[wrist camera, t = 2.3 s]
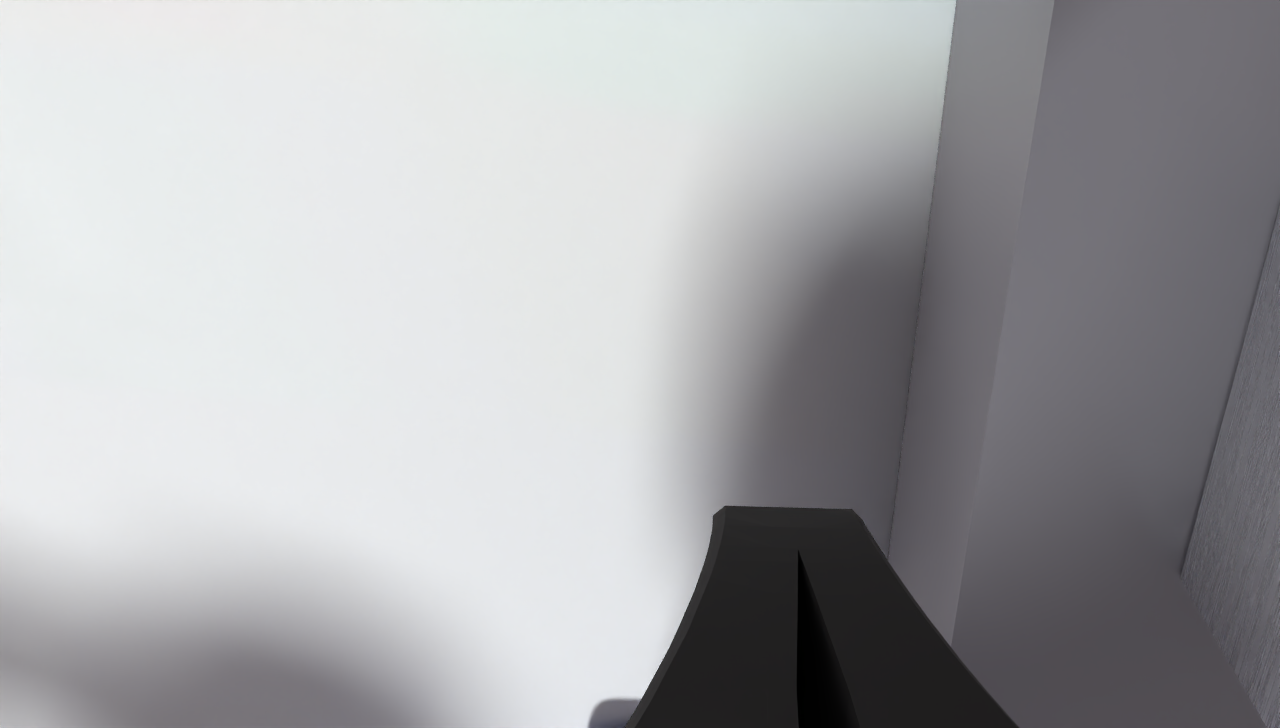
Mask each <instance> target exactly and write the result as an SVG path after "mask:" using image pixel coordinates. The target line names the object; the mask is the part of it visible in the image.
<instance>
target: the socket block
mask: <svg viewBox="0 0 1280 728" xmlns="http://www.w3.org/2000/svg"><path fill="white" fill-rule="evenodd" d="M1279 207H1280V0H956V8H955V16H954V25H953V33H952V41H951V49H950V57H949V65H948V74H947V82H946V90H945V98H944V106H943V114H942V123H941V131H940V139H939V147H938V155H937V163H936V171H935V180H934V188H933V196H932V204H931V212H930V220H929V229H928V237H927V245H926V253H925V261H924V269H923V278H922V286H921V294H920V302H919V310H918V318H917V326H916V335H915V343H914V351H913V359H912V367H911V375H910V384H909V392H908V400H907V408H906V416H905V424H904V433H903V441H902V449H901V457H900V465H899V473H898V481H897V490H896V498H895V506H894V514H893V522H892V530H891V539H890V547H889V555H888V562H889V563H890V565H891V566H892V568H893V569H894V571H895V572H896V573H897V575H898V576H899V578H900V579H901V581H902V582H903V583H904V585H905V586H906V588H907V589H908V591H909V592H910V594H911V595H912V596H913V598H914V599H915V601H916V602H917V603H918V605H919V606H920V607H921V609H922V610H923V611H924V613H925V614H926V616H927V617H928V618H929V619H930V621H931V622H932V623H933V625H934V626H935V627H936V628H937V630H938V631H939V632H940V634H941V635H942V636H943V637H944V639H945V640H946V641H947V643H948V644H949V645H950V646H951V648H952V649H953V650H954V652H955V653H956V654H957V655H958V657H959V658H960V659H961V661H962V662H963V663H964V664H965V665H966V667H967V668H968V669H969V670H970V671H971V673H972V674H973V675H974V676H975V677H976V679H977V680H978V681H979V682H980V683H981V685H982V686H983V687H984V688H985V689H986V691H987V692H988V693H989V694H990V695H991V696H992V697H993V698H994V700H995V701H996V702H997V703H998V704H999V705H1000V706H1001V707H1002V709H1003V710H1004V711H1005V712H1006V713H1007V714H1008V715H1009V717H1010V718H1011V719H1012V720H1013V721H1014V722H1015V723H1016V724H1017V726H1018V727H1019V728H1267V727H1266V725H1265V724H1264V722H1263V720H1262V718H1261V717H1260V715H1259V713H1258V711H1257V710H1256V708H1255V706H1254V705H1253V703H1252V701H1251V699H1250V698H1249V696H1248V694H1247V693H1246V691H1245V689H1244V687H1243V686H1242V684H1241V682H1240V680H1239V679H1238V677H1237V675H1236V674H1235V672H1234V670H1233V668H1232V667H1231V665H1230V663H1229V662H1228V660H1227V658H1226V656H1225V655H1224V653H1223V651H1222V650H1221V648H1220V646H1219V644H1218V643H1217V641H1216V639H1215V637H1214V636H1213V634H1212V632H1211V631H1210V629H1209V627H1208V625H1207V624H1206V622H1205V620H1204V619H1203V617H1202V615H1201V613H1200V612H1199V610H1198V608H1197V606H1196V605H1195V603H1194V601H1193V600H1192V598H1191V596H1190V594H1189V593H1188V591H1187V589H1186V588H1185V586H1184V584H1183V582H1182V581H1181V579H1180V577H1181V573H1182V569H1183V565H1184V562H1185V558H1186V554H1187V551H1188V547H1189V543H1190V539H1191V536H1192V532H1193V528H1194V524H1195V521H1196V517H1197V513H1198V509H1199V506H1200V502H1201V498H1202V494H1203V491H1204V487H1205V483H1206V480H1207V476H1208V472H1209V468H1210V465H1211V461H1212V457H1213V453H1214V450H1215V446H1216V442H1217V438H1218V435H1219V431H1220V427H1221V424H1222V420H1223V416H1224V412H1225V409H1226V405H1227V401H1228V397H1229V394H1230V390H1231V386H1232V382H1233V379H1234V375H1235V371H1236V367H1237V364H1238V360H1239V356H1240V353H1241V349H1242V345H1243V341H1244V338H1245V334H1246V330H1247V326H1248V323H1249V319H1250V315H1251V311H1252V308H1253V304H1254V300H1255V296H1256V293H1257V289H1258V285H1259V282H1260V278H1261V274H1262V270H1263V267H1264V263H1265V259H1266V255H1267V252H1268V248H1269V244H1270V240H1271V237H1272V233H1273V229H1274V225H1275V222H1276V218H1277V214H1278V211H1279Z"/></svg>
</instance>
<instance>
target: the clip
mask: <svg viewBox="0 0 1280 728" xmlns="http://www.w3.org/2000/svg"><path fill="white" fill-rule="evenodd" d="M1180 579H1181V581H1182V582H1183V584H1184V586H1185V588H1186V589H1187V591H1188V593H1189V594H1190V596H1191V598H1192V600H1193V601H1194V603H1195V605H1196V606H1197V608H1198V610H1199V612H1200V613H1201V615H1202V617H1203V619H1204V620H1205V622H1206V624H1207V625H1208V627H1209V629H1210V631H1211V632H1212V634H1213V636H1214V637H1215V639H1216V641H1217V643H1218V644H1219V646H1220V648H1221V650H1222V651H1223V653H1224V655H1225V656H1226V658H1227V660H1228V662H1229V663H1230V665H1231V667H1232V668H1233V670H1234V672H1235V674H1236V675H1237V677H1238V679H1239V680H1240V682H1241V684H1242V686H1243V687H1244V689H1245V691H1246V693H1247V694H1248V696H1249V698H1250V699H1251V701H1252V703H1253V705H1254V706H1255V708H1256V710H1257V711H1258V713H1259V715H1260V717H1261V718H1262V720H1263V722H1264V724H1265V725H1266V727H1267V728H1280V207H1279V211H1278V214H1277V218H1276V222H1275V225H1274V229H1273V233H1272V237H1271V240H1270V244H1269V248H1268V252H1267V255H1266V259H1265V263H1264V267H1263V270H1262V274H1261V278H1260V282H1259V285H1258V289H1257V293H1256V296H1255V300H1254V304H1253V308H1252V311H1251V315H1250V319H1249V323H1248V326H1247V330H1246V334H1245V338H1244V341H1243V345H1242V349H1241V353H1240V356H1239V360H1238V364H1237V367H1236V371H1235V375H1234V379H1233V382H1232V386H1231V390H1230V394H1229V397H1228V401H1227V405H1226V409H1225V412H1224V416H1223V420H1222V424H1221V427H1220V431H1219V435H1218V438H1217V442H1216V446H1215V450H1214V453H1213V457H1212V461H1211V465H1210V468H1209V472H1208V476H1207V480H1206V483H1205V487H1204V491H1203V494H1202V498H1201V502H1200V506H1199V509H1198V513H1197V517H1196V521H1195V524H1194V528H1193V532H1192V536H1191V539H1190V543H1189V547H1188V551H1187V554H1186V558H1185V562H1184V565H1183V569H1182V573H1181V577H1180Z"/></svg>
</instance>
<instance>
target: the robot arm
mask: <svg viewBox="0 0 1280 728" xmlns="http://www.w3.org/2000/svg"><path fill="white" fill-rule="evenodd" d="M625 728H1019V727H1018V726H1017V724H1016V723H1015V722H1014V721H1013V720H1012V719H1011V718H1010V717H1009V715H1008V714H1007V713H1006V712H1005V711H1004V710H1003V709H1002V707H1001V706H1000V705H999V704H998V703H997V702H996V701H995V700H994V698H993V697H992V696H991V695H990V694H989V693H988V692H987V691H986V689H985V688H984V687H983V686H982V685H981V683H980V682H979V681H978V680H977V679H976V677H975V676H974V675H973V674H972V673H971V671H970V670H969V669H968V668H967V667H966V665H965V664H964V663H963V662H962V661H961V659H960V658H959V657H958V655H957V654H956V653H955V652H954V650H953V649H952V648H951V646H950V645H949V644H948V643H947V641H946V640H945V639H944V637H943V636H942V635H941V634H940V632H939V631H938V630H937V628H936V627H935V626H934V625H933V623H932V622H931V621H930V619H929V618H928V617H927V616H926V614H925V613H924V611H923V610H922V609H921V607H920V606H919V605H918V603H917V602H916V601H915V599H914V598H913V596H912V595H911V594H910V592H909V591H908V589H907V588H906V586H905V585H904V583H903V582H902V581H901V579H900V578H899V576H898V575H897V573H896V572H895V571H894V569H893V568H892V566H891V565H890V563H889V562H888V560H887V559H886V557H885V556H884V554H883V552H882V551H881V549H880V548H879V546H878V545H877V543H876V542H875V540H874V538H873V537H872V535H871V534H870V532H869V530H868V529H867V527H866V525H865V524H864V522H863V520H862V519H861V518H860V517H859V516H858V515H857V514H856V513H855V512H854V511H853V510H852V509H822V508H785V507H748V506H724V507H723V508H722V509H721V510H719V511H718V512H717V513H716V514H714V515H713V527H712V534H711V539H710V544H709V548H708V552H707V556H706V559H705V562H704V566H703V568H702V571H701V574H700V577H699V580H698V583H697V585H696V588H695V591H694V593H693V596H692V598H691V600H690V603H689V605H688V607H687V609H686V612H685V614H684V616H683V619H682V621H681V623H680V626H679V628H678V630H677V632H676V635H675V637H674V639H673V641H672V643H671V645H670V647H669V649H668V651H667V653H666V655H665V657H664V659H663V661H662V663H661V664H660V666H659V668H658V670H657V672H656V674H655V675H654V677H653V679H652V681H651V683H650V685H649V686H648V688H647V690H646V692H645V694H644V696H643V698H642V699H641V701H640V703H639V705H638V706H637V708H636V710H635V712H634V713H633V715H632V716H631V718H630V720H629V721H628V723H627V725H626V726H625Z"/></svg>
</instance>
